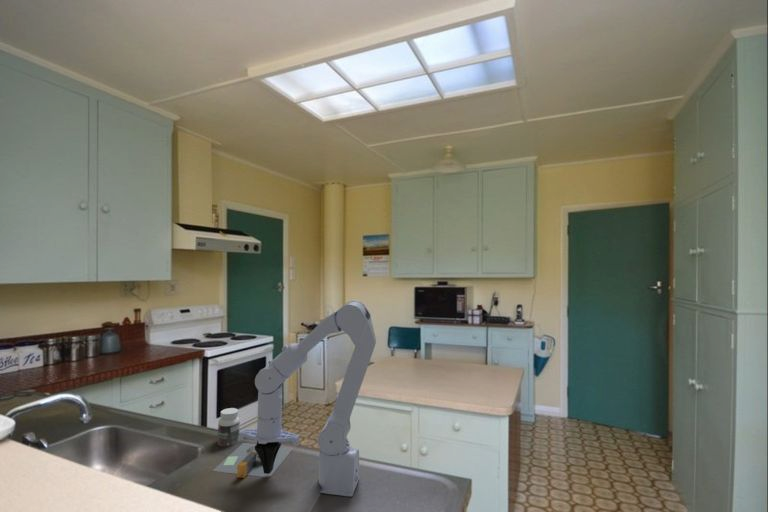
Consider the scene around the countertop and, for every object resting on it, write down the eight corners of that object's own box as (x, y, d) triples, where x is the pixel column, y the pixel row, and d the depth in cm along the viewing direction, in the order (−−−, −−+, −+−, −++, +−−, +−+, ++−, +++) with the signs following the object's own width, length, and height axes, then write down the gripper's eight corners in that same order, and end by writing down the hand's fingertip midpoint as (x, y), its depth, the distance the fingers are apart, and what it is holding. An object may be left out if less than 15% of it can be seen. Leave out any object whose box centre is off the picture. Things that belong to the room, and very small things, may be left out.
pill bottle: (213, 447, 111) (214, 412, 111) (229, 439, 116) (230, 405, 116) (227, 452, 108) (228, 416, 108) (243, 443, 113) (244, 409, 113)
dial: (272, 455, 104) (272, 444, 104) (251, 479, 93) (251, 466, 93) (253, 453, 105) (253, 441, 105) (229, 476, 94) (229, 464, 94)
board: (293, 452, 109) (293, 447, 109) (269, 482, 94) (269, 477, 94) (243, 447, 111) (243, 442, 111) (212, 475, 97) (212, 470, 97)
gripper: (233, 419, 92) (231, 477, 92) (291, 424, 90) (290, 484, 90) (248, 408, 99) (246, 461, 99) (302, 413, 97) (301, 468, 97)
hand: (268, 471), depth 95 cm, fingers closed
